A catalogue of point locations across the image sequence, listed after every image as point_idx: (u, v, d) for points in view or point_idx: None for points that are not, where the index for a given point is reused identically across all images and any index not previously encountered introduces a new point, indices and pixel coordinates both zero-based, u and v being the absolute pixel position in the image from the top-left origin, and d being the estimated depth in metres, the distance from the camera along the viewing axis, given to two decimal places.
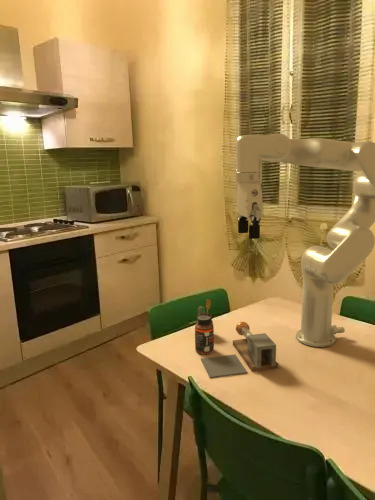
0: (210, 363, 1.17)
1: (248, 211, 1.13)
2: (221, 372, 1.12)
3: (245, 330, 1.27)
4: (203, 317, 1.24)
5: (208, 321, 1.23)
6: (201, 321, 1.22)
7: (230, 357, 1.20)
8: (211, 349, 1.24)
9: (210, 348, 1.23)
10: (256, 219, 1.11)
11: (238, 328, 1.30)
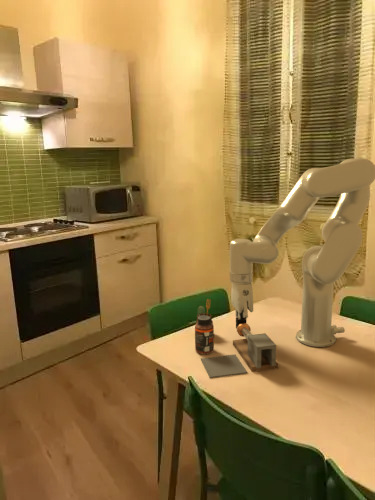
0: (210, 363, 1.17)
1: (240, 308, 1.26)
2: (221, 372, 1.12)
3: (246, 331, 1.26)
4: (203, 317, 1.24)
5: (208, 321, 1.23)
6: (201, 321, 1.22)
7: (230, 357, 1.20)
8: (211, 349, 1.24)
9: (210, 348, 1.23)
10: (243, 316, 1.29)
11: (239, 329, 1.29)
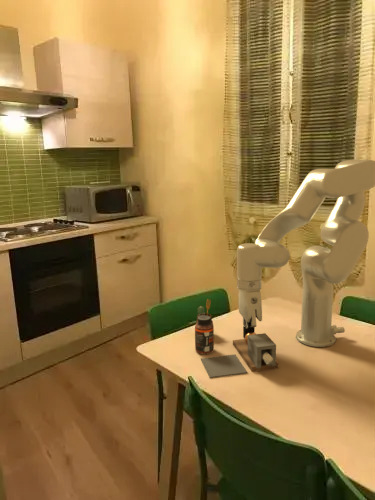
0: (210, 363, 1.17)
1: (248, 317, 1.19)
2: (221, 372, 1.12)
3: None
4: (203, 317, 1.24)
5: (208, 321, 1.23)
6: (201, 321, 1.22)
7: (230, 357, 1.20)
8: (211, 349, 1.24)
9: (210, 348, 1.23)
10: (251, 325, 1.22)
11: (247, 339, 1.22)
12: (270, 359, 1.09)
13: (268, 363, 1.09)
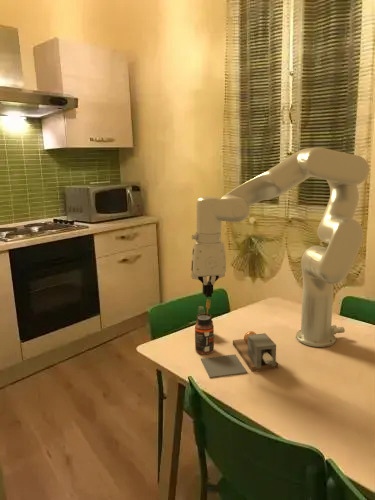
0: (210, 363, 1.17)
1: None
2: (221, 372, 1.12)
3: None
4: (203, 317, 1.24)
5: (208, 321, 1.23)
6: (201, 321, 1.22)
7: (230, 357, 1.20)
8: (211, 349, 1.24)
9: (210, 348, 1.23)
10: None
11: (246, 338, 1.23)
12: (269, 358, 1.09)
13: (267, 362, 1.10)
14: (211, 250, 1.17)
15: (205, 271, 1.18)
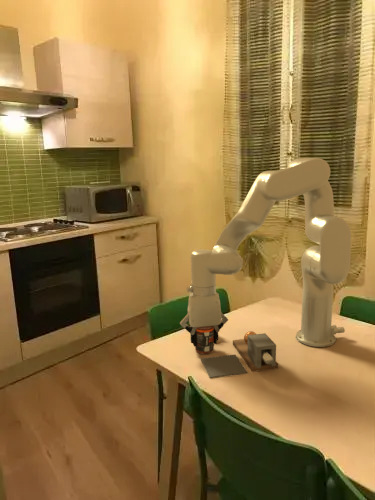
0: (210, 363, 1.17)
1: None
2: (221, 372, 1.12)
3: None
4: None
5: None
6: None
7: (230, 357, 1.20)
8: (211, 349, 1.24)
9: (210, 347, 1.23)
10: (185, 327, 1.24)
11: (246, 338, 1.23)
12: (269, 358, 1.09)
13: (267, 362, 1.10)
14: (205, 302, 1.20)
15: (200, 322, 1.21)
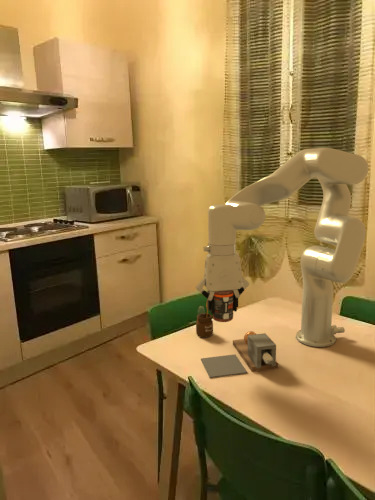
0: (210, 363, 1.17)
1: None
2: (221, 372, 1.12)
3: None
4: None
5: None
6: None
7: (230, 357, 1.20)
8: (230, 317, 1.11)
9: (229, 315, 1.10)
10: (201, 292, 1.11)
11: (246, 338, 1.23)
12: (269, 358, 1.09)
13: (267, 362, 1.10)
14: (225, 262, 1.07)
15: (219, 286, 1.08)
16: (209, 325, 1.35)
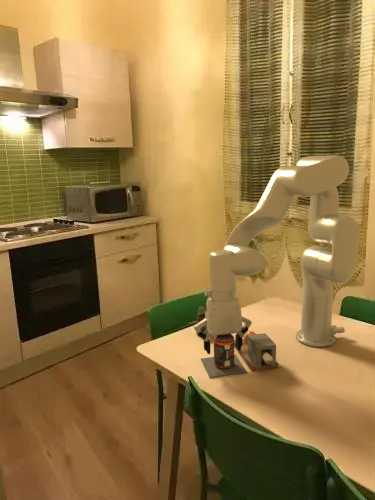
0: (210, 363, 1.17)
1: None
2: (221, 372, 1.12)
3: None
4: None
5: None
6: None
7: None
8: (232, 363, 1.14)
9: (230, 362, 1.13)
10: None
11: (246, 338, 1.23)
12: (269, 358, 1.09)
13: (267, 362, 1.10)
14: (225, 307, 1.09)
15: (219, 330, 1.10)
16: None
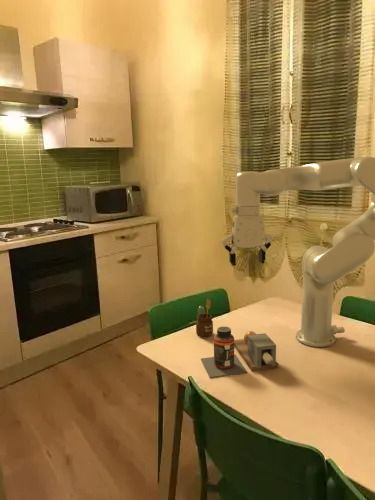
0: (210, 363, 1.17)
1: None
2: (221, 372, 1.12)
3: None
4: (223, 328, 1.14)
5: (228, 333, 1.13)
6: (221, 333, 1.12)
7: None
8: (232, 363, 1.14)
9: (230, 362, 1.13)
10: (224, 247, 1.26)
11: (246, 338, 1.23)
12: (269, 358, 1.09)
13: (267, 362, 1.10)
14: (250, 222, 1.23)
15: (245, 243, 1.24)
16: (209, 325, 1.35)
